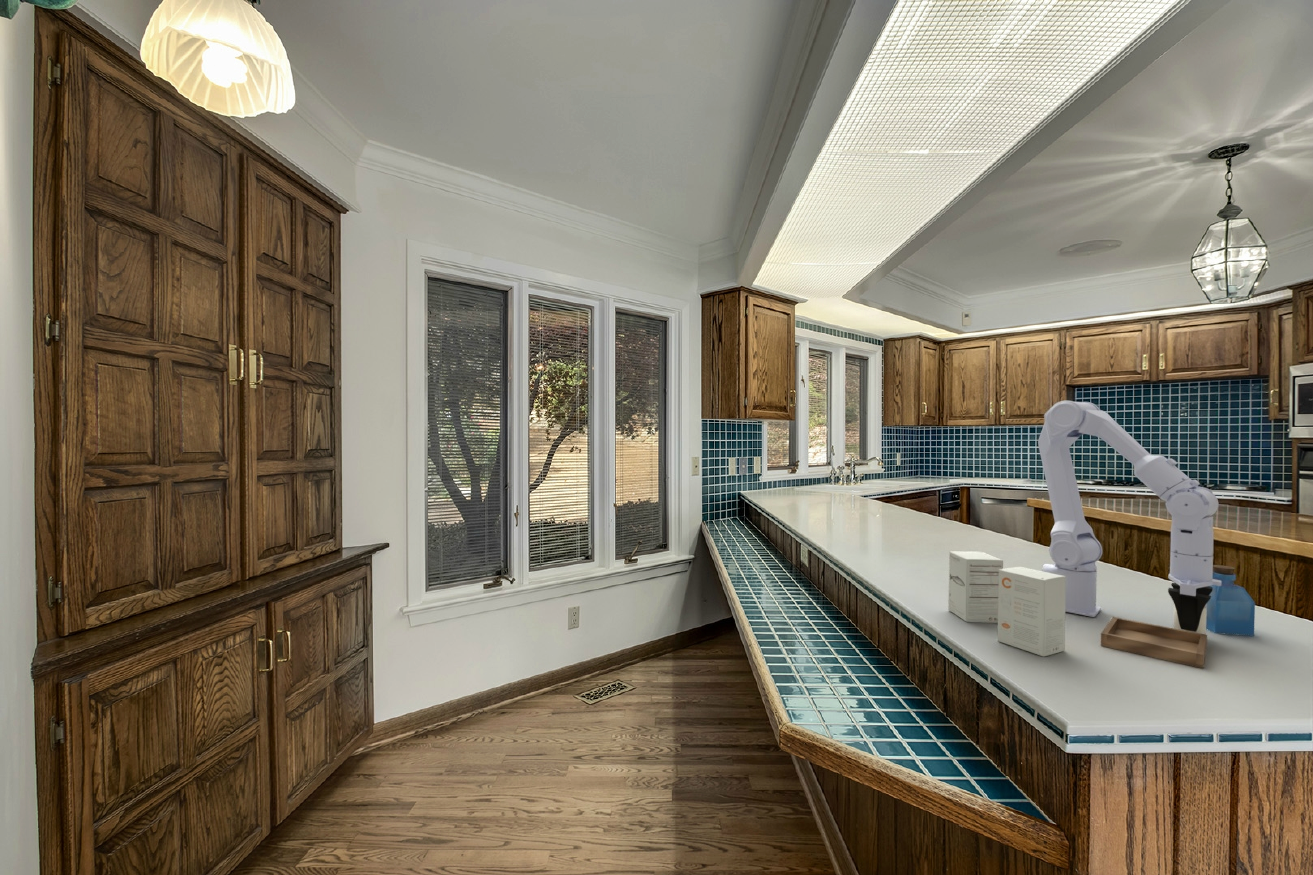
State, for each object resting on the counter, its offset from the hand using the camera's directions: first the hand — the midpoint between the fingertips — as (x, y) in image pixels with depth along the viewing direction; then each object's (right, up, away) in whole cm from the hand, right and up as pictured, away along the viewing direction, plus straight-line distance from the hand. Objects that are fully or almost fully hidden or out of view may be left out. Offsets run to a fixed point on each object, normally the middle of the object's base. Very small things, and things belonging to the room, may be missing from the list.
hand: (1189, 626), depth 105 cm
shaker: (0, -2, 0) cm, 2 cm away
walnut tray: (-11, -2, -5) cm, 12 cm away
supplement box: (-34, -2, +11) cm, 35 cm away
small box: (-33, -2, -5) cm, 33 cm away
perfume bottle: (+11, -2, +5) cm, 12 cm away
